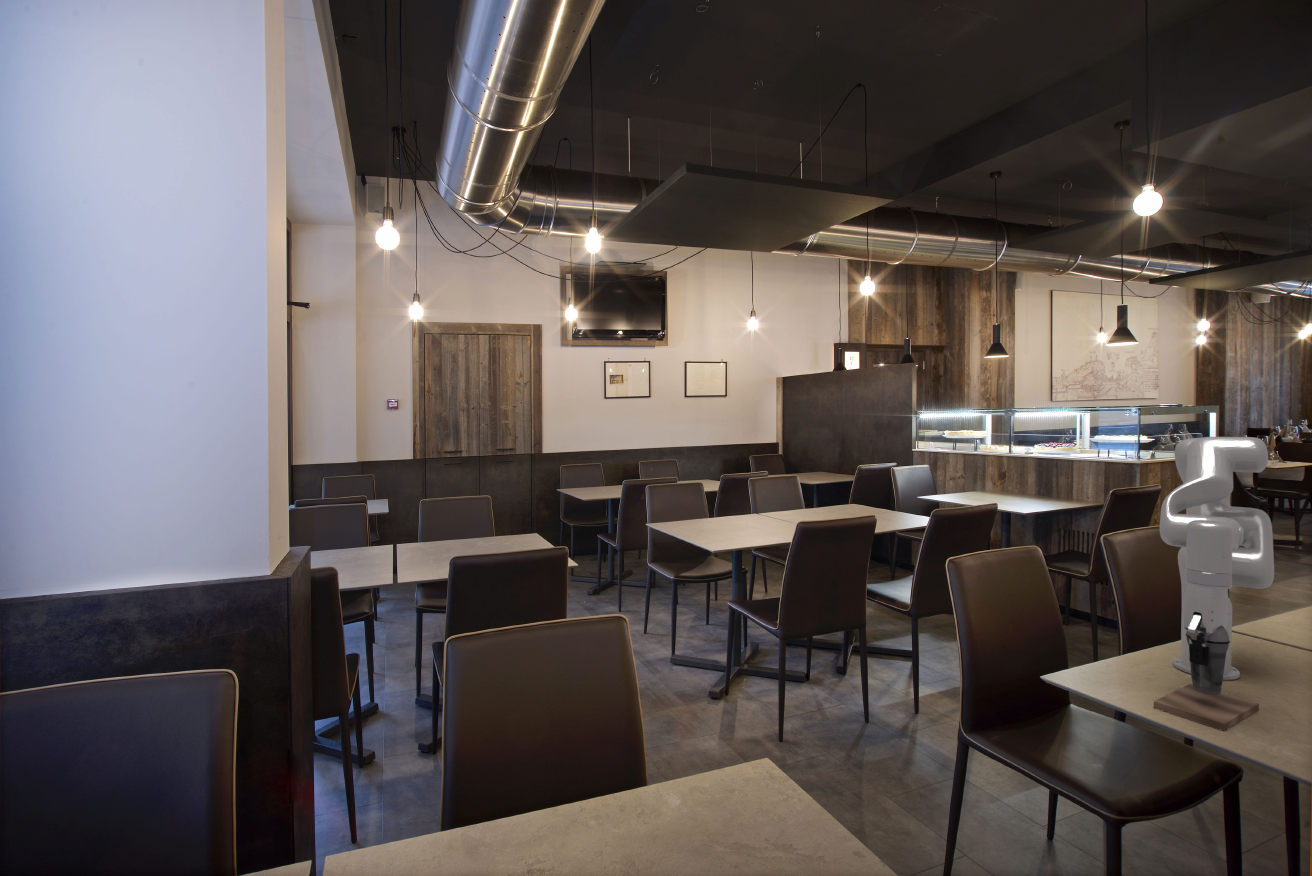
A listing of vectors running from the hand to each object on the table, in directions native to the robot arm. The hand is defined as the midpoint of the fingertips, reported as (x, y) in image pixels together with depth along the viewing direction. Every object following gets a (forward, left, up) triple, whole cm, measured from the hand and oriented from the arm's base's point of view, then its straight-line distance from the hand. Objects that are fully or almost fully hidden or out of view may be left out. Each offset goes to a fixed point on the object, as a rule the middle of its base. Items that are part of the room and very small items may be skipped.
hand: (1206, 659), depth 136 cm
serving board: (0, 0, -11) cm, 11 cm away
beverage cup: (0, 0, -7) cm, 7 cm away
